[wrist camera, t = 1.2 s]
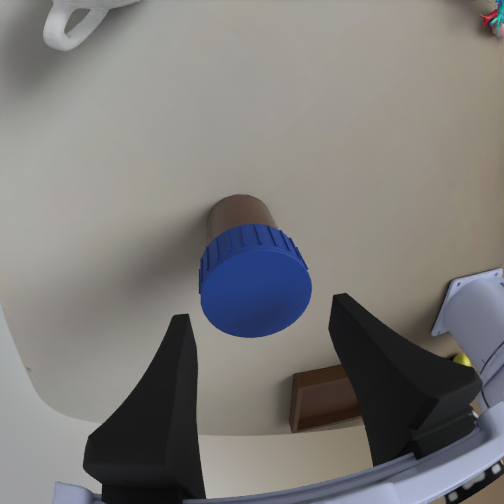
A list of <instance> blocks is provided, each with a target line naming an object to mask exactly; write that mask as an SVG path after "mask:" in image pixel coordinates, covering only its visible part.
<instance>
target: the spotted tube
mask: <svg viewBox="0 0 504 504" xmlns="http://www.w3.org/2000/svg"><path fill="white" fill-rule="evenodd" d="M469 406H470V408H471V410H472V413H471V414H469V415H470V416H471V418H472V420H473V422H475V421H476V420H477V419H478V416H477V414H476V413H475V411H474V409H473V407H472V406H471V404H470V405H469ZM503 474H504V465H503V462H502V460H501V459H500V460H499V461H497V462H496V463H495V464H493V465H492V466H490V467H489V468H487V469H486V470H484V471H483V472H481V473H480V474H478V475H477V476H475V477H474V478H472V479H471V480H469V481H468V482H466V483H464V484H463V485H461V486H459V487H458V488H456V489H454V490H453V491H451V492H449V493H447V494H446V495H444V496H443V497H444V500H445V502H446V504H459V503H460V502H462V501H464V500H465V499H467V498H469V497H471V496H472V495H474V494H475V493H477V492H478V491H480V490H482V489H483V488H485V487H486V486H487V485H489V484H490V483H492V482H493V481H495V480H496V479H497V478H499V477H500V476H501V475H503Z"/></svg>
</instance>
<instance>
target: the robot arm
mask: <svg viewBox="0 0 504 504" xmlns="http://www.w3.org/2000/svg"><path fill="white" fill-rule="evenodd" d="M502 273H503V269H502V268H498V269H495V270H491V271H487V272H483V273H479V274H475V275H471V276H467V277H463V278H459V279H455V280H453V281H452V282H451V284H450V287H449V289H448V292H447V295H446V297H445V300H444V303H443V305H442V308H441V310H440V313H439V315H438V318H437V320H436V323H435V325H434V327H433V330H432V332H431V334H432V336H436V335H439V334H443V333H446V332H448V331H449V332H450V334H451V335H452V336H453V338H454V339H455V340H456V342H457V343H458V345H459V346H460V347H461V349H462V350H463V351H464V353H465V354H466V356H467V357H468V359H469V360H470V361H471V363H472V364H473V366H474V367H475V369H476V370H477V372H478V373H479V374H480V376H479V375H478V374H477V372H476V371H475V369H474V368H473V367H470V366H466V365H463V364H459V363H456V362H453V361H450V360H448V359H445V358H442V357H440V356H438V355H435V354H433V353H431V352H429V351H427V350H425V349H423V348H421V347H419V346H417V345H415V344H413V343H412V342H410V341H408V340H407V339H405V338H403V337H402V336H400V335H399V334H397V333H396V332H395V331H393V330H392V329H390V328H389V327H387V326H386V325H385V324H383V323H382V322H381V321H380V320H378V319H377V318H376V317H374V316H373V315H372V314H371V313H370V312H368V311H367V310H366V309H365V308H364V307H362V306H361V305H360V304H359V303H358V302H356V301H355V300H354V299H353V298H352V297H351V296H349V295H348V294H347V293H343V294H337V295H333V301H332V308H331V314H330V321H329V327H328V329H329V333H330V336H331V339H332V342H333V345H334V348H335V351H336V353H337V355H338V357H339V359H340V361H341V364H342V366H343V368H344V370H345V372H346V374H347V376H348V379H349V381H350V383H351V385H352V387H353V390H354V392H355V395H356V398H357V401H358V404H359V408H360V411H361V414H362V418H363V421H364V425H365V429H366V433H367V437H368V441H369V446H370V451H371V456H372V462H373V467H372V468H369V469H367V470H363V471H360V472H357V473H354V474H350V475H347V476H343V477H340V478H336V479H332V480H329V481H325V482H320V483H316V484H312V485H308V486H303V487H298V488H293V489H288V490H282V491H276V492H270V493H263V494H257V495H248V496H239V497H228V498H215V499H206V494H205V488H204V482H203V476H202V469H201V461H200V453H199V444H198V433H197V422H196V404H197V378H198V361H197V347H196V343H195V339H194V334H193V330H192V326H191V322H190V318H189V314H179V315H174V316H173V317H172V319H171V322H170V324H169V327H168V329H167V332H166V334H165V336H164V338H163V341H162V343H161V345H160V347H159V349H158V351H157V353H156V355H155V356H154V358H153V360H152V362H151V363H150V365H149V367H148V369H147V370H146V372H145V374H144V375H143V377H142V378H141V380H140V381H139V383H138V384H137V386H136V387H135V388H134V390H133V391H132V392H131V393H130V395H129V396H128V397H127V399H126V400H125V401H124V402H123V403H122V405H121V406H120V407H119V408H118V409H117V410H116V411H115V412H114V413H113V414H112V415H111V416H110V417H109V418H108V419H107V420H106V421H105V422H104V423H103V424H102V425H101V426H100V427H99V428H97V429H96V430H95V431H94V432H93V433H92V434H91V435H89V436H88V440H87V443H86V447H85V453H84V460H83V468H84V470H85V471H86V472H87V473H88V474H89V475H90V476H92V477H93V478H94V479H96V480H98V481H99V482H100V483H102V494H95V493H92V492H91V491H90V490H88V489H86V488H84V487H81V486H76V485H72V484H66V483H62V482H55V488H54V497H53V504H429V503H431V502H433V501H434V500H436V499H438V498H440V497H442V496H444V495H446V494H447V493H449V492H451V491H453V490H454V489H456V488H458V487H459V486H461V485H463V484H464V483H466V482H468V481H469V480H471V479H472V478H474V477H475V476H477V475H478V474H480V473H481V472H483V471H484V470H486V469H487V468H489V467H490V466H492V465H493V464H495V463H496V462H497V461H499V460H500V459H501V458H502V457H504V279H503V278H502V277H501V276H502ZM476 396H477V400H478V404H479V407H480V409H481V411H482V414H481V415H480V416H479V417H478V419H477V420H476V421H475V422H473V420H472V418H471V416H470V415H469V414H471V413H472V410H471V408H470V406H469V405H470V404H471V402H472V401H473V400H474V399H475V397H476Z"/></svg>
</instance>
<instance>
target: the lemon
mask: <svg viewBox="0 0 504 504" xmlns="http://www.w3.org/2000/svg"><path fill="white" fill-rule="evenodd" d="M453 362H456V363H459V364H463V365H466V366H470V360H469V359H468V357H467V356H466V355H464V354H458V355H456V356H455V357H454V359H453Z"/></svg>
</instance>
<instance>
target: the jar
mask: <svg viewBox="0 0 504 504" xmlns="http://www.w3.org/2000/svg"><path fill="white" fill-rule="evenodd" d="M254 223H256V224H262V225H267V226H268V225H270V227H273V228H276V229H278V228H277V226H276V224H275V221H274V219H273V217H272V215H271V213H270V211H269V209H268V208H267V206H266V205H265V204H264V203H263V202H262V201H260V200H259V199H257V198H255V197H252V196H249V195H233V196H230V197H227V198H225V199H223V200H222V201H220V202H219V203H218V204H217V205H216V206H215V207H214V208H213V209H212V211H211V212H210V214H209V217H208V221H207V244H208V246H209V244H210V243H211V242H212V241H213V240H214V238H215V237H217V236H218V235H220V234H221V233H223V232H225V231H226V230H227V229H231V228H233V227H236V226H240V225H245V224H254Z"/></svg>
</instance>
